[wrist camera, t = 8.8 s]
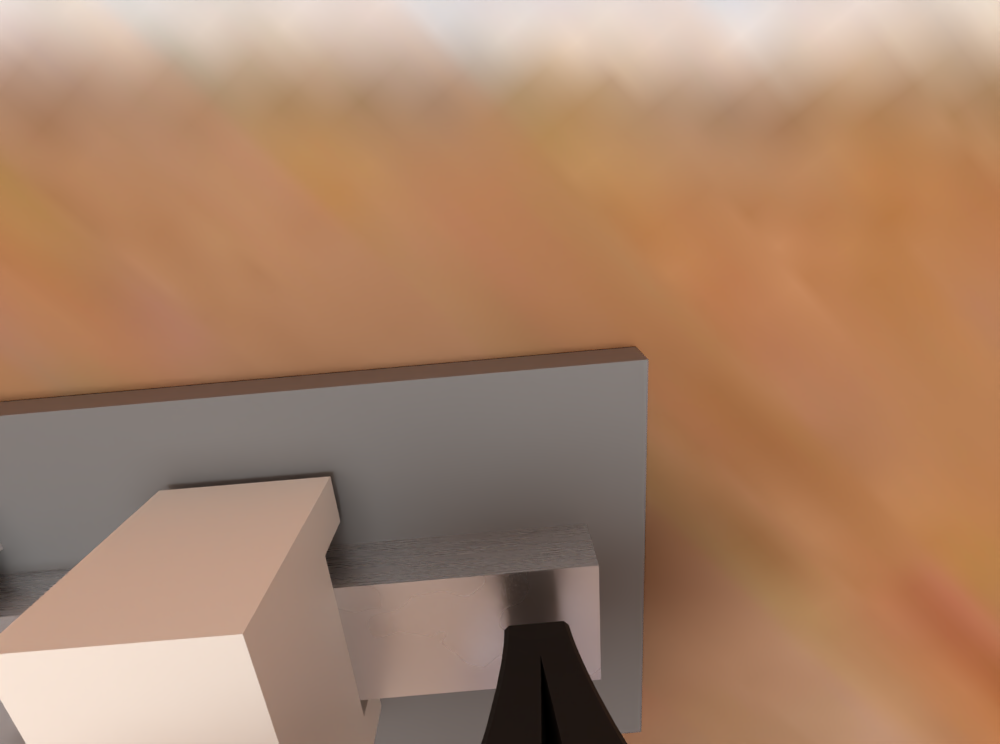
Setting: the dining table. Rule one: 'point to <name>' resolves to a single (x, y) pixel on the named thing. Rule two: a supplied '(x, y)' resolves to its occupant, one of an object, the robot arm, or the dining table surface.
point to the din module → (194, 629)
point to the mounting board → (367, 477)
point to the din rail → (435, 604)
